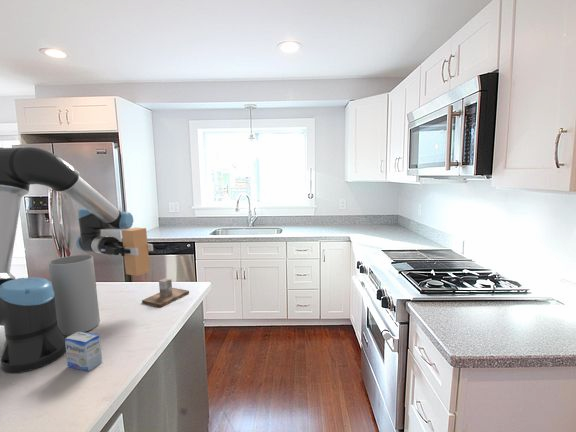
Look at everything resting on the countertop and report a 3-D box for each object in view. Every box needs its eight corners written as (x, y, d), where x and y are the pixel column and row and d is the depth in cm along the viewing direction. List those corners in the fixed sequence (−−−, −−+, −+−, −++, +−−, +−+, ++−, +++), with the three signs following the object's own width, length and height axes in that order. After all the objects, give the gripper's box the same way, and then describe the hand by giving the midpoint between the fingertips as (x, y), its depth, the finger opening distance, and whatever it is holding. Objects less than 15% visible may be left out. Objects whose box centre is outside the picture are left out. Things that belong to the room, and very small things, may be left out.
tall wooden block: (149, 271, 123) (146, 228, 121) (136, 276, 117) (132, 230, 115) (139, 269, 126) (135, 227, 123) (125, 274, 120) (121, 230, 118)
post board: (161, 307, 122) (159, 287, 121) (142, 302, 127) (140, 284, 126) (189, 293, 137) (187, 275, 136) (171, 289, 141) (170, 273, 140)
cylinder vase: (105, 317, 114) (98, 253, 111) (91, 333, 102) (83, 262, 99) (68, 321, 112) (60, 256, 108) (49, 338, 100) (40, 266, 96)
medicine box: (67, 367, 84) (63, 338, 83) (82, 358, 88) (78, 330, 87) (88, 372, 82) (85, 342, 81) (102, 362, 86) (99, 334, 85)
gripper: (127, 248, 137) (164, 253, 127) (84, 259, 119) (123, 265, 110) (125, 232, 136) (163, 235, 126) (82, 241, 118) (121, 245, 109)
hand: (144, 249), depth 118 cm, fingers closed on tall wooden block, 6 cm apart
